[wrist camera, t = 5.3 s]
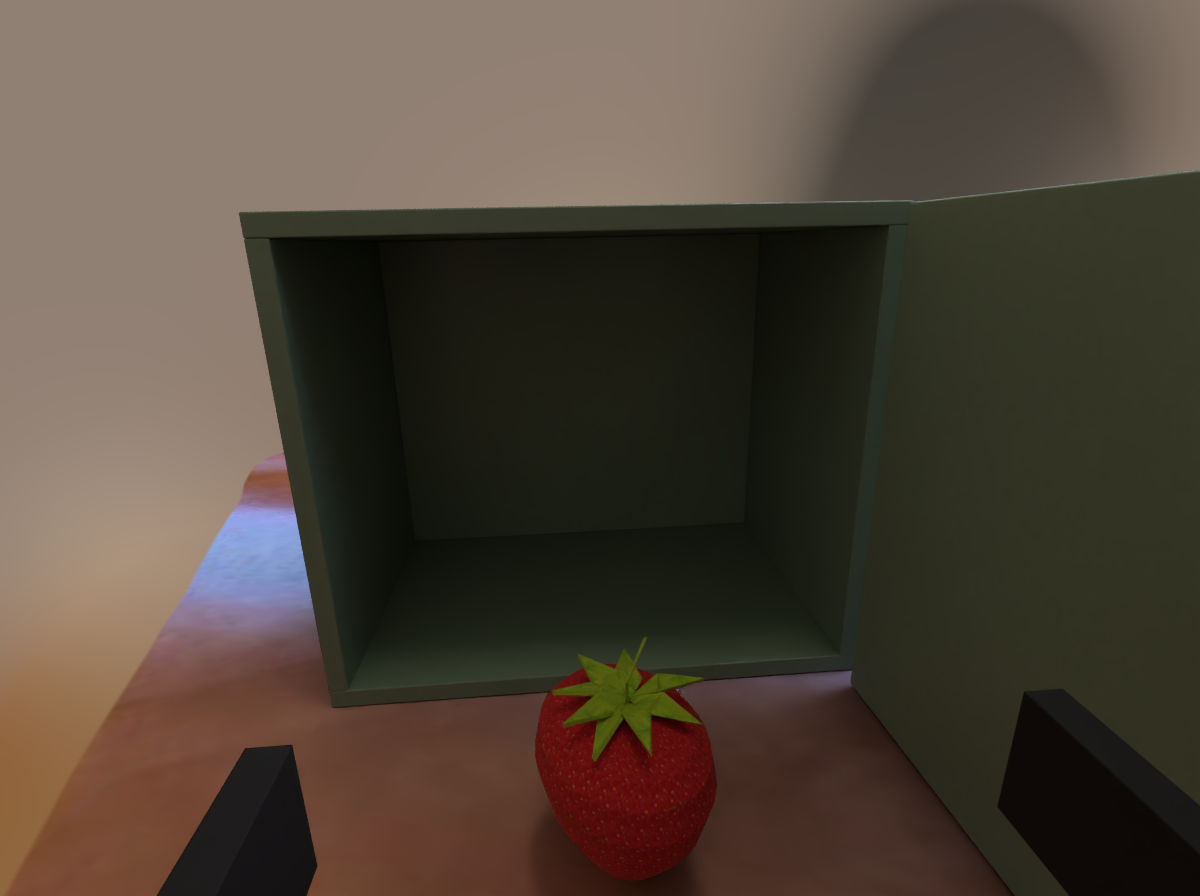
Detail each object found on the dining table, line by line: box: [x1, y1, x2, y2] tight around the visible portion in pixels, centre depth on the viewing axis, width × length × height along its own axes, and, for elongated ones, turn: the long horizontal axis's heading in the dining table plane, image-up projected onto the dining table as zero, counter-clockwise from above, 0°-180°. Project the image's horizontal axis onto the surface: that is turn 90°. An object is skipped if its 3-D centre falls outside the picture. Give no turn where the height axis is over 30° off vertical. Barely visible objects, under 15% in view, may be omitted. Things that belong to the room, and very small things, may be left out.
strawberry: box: [535, 637, 717, 881], centre depth 22 cm, size 6×8×10 cm
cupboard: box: [239, 200, 914, 707], centre depth 38 cm, size 18×28×24 cm, turn 95°
